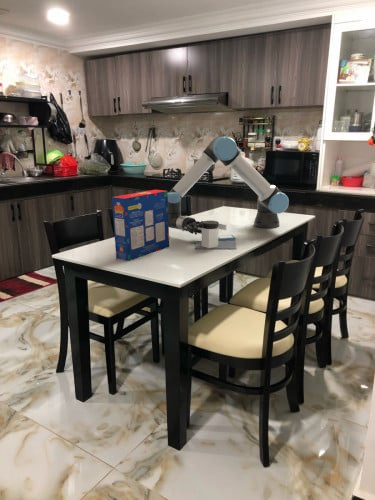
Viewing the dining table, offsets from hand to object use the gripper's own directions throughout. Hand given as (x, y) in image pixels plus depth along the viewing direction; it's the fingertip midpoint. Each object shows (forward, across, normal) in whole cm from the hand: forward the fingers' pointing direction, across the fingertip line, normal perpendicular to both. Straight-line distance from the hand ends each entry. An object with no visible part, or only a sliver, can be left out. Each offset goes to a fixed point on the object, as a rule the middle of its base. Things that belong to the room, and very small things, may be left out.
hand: (217, 229), depth 191 cm
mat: (-1, 0, -8) cm, 8 cm away
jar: (-1, +4, -8) cm, 9 cm away
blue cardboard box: (-18, +32, -8) cm, 38 cm away
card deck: (-5, -12, -8) cm, 16 cm away
